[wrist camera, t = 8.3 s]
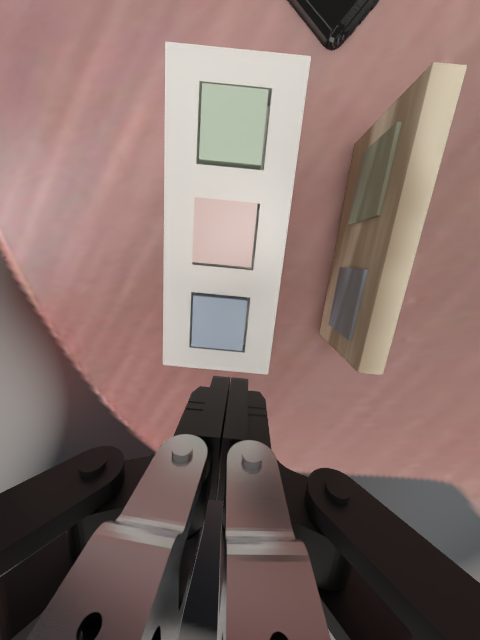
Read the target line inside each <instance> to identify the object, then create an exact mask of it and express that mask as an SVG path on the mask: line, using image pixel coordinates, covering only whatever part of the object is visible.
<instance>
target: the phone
mask: <svg viewBox="0 0 480 640" xmlns="http://www.w3.org/2000/svg"><path fill="white" fill-rule="evenodd" d="M288 1H289V3H290V4H291V5H292V7H293V8H294V9H295V10H296V12H297V13H298V14H299V15H300V17H301V18H302V19H303V20H304V22H305V23H306V24H307V26H308V27H309V28H310V29H311V31H312V32H313V33H314V34H315V36H316V37H317V38H318V39H319V41H320V42H321V43H322V45H323V46H324V47H325V48H327V49H329V50H335V49H337V48H339V47H340V46H341V45H342V44H343V42H344V41H345V40H346V39H347V38H348V36H349V35H351V34H352V32H353V31H354V30H355V28H356V27H357V25H358V24H359V23H361V22H362V21H363V19H364V18H365V17H366V16H367V14H368V13H369V11H370V10H372V9H373V8H374V6H375V5H376V4H377V3H378V1H379V0H288Z"/></svg>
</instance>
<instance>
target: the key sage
mask: <svg viewBox="0 0 480 640" xmlns="http://www.w3.org/2000/svg"><path fill="white" fill-rule="evenodd" d="M268 91H269V90H268V89H258V88H248V87H238V86H228V85H218V84H208V83H202V98H201V122H200V147H199V160H200V162H201V164H203V165H213V166H223V167H234V168H244V169H254V170H260V168H261V160H262V150H263V141H264V131H265V121H266V111H267V101H268Z"/></svg>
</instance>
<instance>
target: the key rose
mask: <svg viewBox="0 0 480 640" xmlns="http://www.w3.org/2000/svg"><path fill="white" fill-rule="evenodd" d="M257 204H258V203H250V202H240V201H229V200H219V199H209V198H198V197H195V202H194V228H193V254H192V262H198V263H208V264H219V265H229V266H240V267H250V268H251V263H252V253H253V243H254V233H255V224H256V214H257Z"/></svg>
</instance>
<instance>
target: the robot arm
mask: <svg viewBox="0 0 480 640" xmlns="http://www.w3.org/2000/svg"><path fill="white" fill-rule="evenodd" d="M229 388H230V391H229ZM219 474H220V481H219ZM218 481H219V495H218V500H222V501H224V502H223V514H222V515H223V516H222V527H221V549H220V577H219V606H218V631H217V632H218V633H217V640H331V639H330V635H329V631H330V632H331V633H332V635H333V636H334V638H335V639H336V640H480V583H479V582H478V581H476V580H475V579H474V578H472V577H471V576H470V575H469V574H468V573H466V572H465V571H464V570H463V569H462V568H460V567H459V566H458V565H457V564H455V563H454V562H453V561H452V560H451V559H449V558H448V557H447V556H446V555H444V554H443V553H442V552H441V551H440V550H438V549H437V548H436V547H434V546H433V545H432V544H431V543H430V542H428V541H427V540H426V539H425V538H424V537H422V536H421V535H420V534H418V533H417V532H416V531H415V530H414V529H412V528H411V527H410V526H409V525H408V524H406V523H405V522H404V521H403V520H401V519H400V518H399V517H398V516H397V515H395V514H394V513H393V512H392V511H390V510H389V509H388V508H387V507H385V506H384V505H383V504H382V503H381V502H379V501H378V500H377V499H376V498H374V497H373V496H372V495H371V494H369V493H368V492H367V491H366V490H365V489H363V488H362V487H361V486H360V485H358V484H357V483H356V482H355V481H354V480H352V479H351V478H350V477H348V476H347V475H345V474H344V473H342V472H340V471H337V470H334V469H330V468H320V469H316V470H315V471H313V472H312V473H311V474H310V476H309V477H306V476H304V475H301V474H299V473H296V472H294V471H291V470H289V469H288V468H286V467H285V466H283V465H282V464H281V463H280V462H279V461H278V460H277V459H276V456H275V454H274V453H273V451H272V450H271V443H270V435H269V426H268V418H267V410H266V401H265V398H264V397H263V396H262V394H261V393H260V392H256V391H248V379H243V378H231V384H230V377H220V376H213V379H212V382H211V385H210V387H201V386H200V387H198V388H197V389H196V390H195V391H194V392H192V394H191V396H190V399H189V401H188V403H187V406H186V408H185V410H184V413H183V415H182V417H181V420H180V422H179V424H178V427H177V429H176V431H175V434H174V436H173V437H171V438H169V439H168V440H166V441H165V442H164V443H163V444H162V445H161V446H160V447H159V449H158V450H157V452H156V453H155V454H153V455H150V456H148V457H143V458H137V459H131V460H126V461H124V455H123V453H122V452H121V451H120V450H119V449H117V448H115V447H111V446H101V447H96V448H92V449H89V450H87V451H85V452H82V453H81V454H79V455H76V456H75V457H72V458H71V459H68V460H66V461H64V462H62V463H60V464H58V465H56V466H54V467H52V468H50V469H48V470H46V471H44V472H42V473H41V474H38V475H36V476H34V477H32V478H30V479H28V480H26V481H24V482H22V483H20V484H18V485H16V486H14V487H12V488H10V489H8V490H6V491H4V492H2V493H0V575H2V574H3V573H5V572H6V571H8V570H9V569H11V568H12V567H14V566H15V565H16V564H18V563H19V562H21V561H22V560H24V559H25V558H27V557H28V556H30V555H31V554H32V553H34V552H35V551H37V550H38V549H40V548H41V547H43V546H44V545H46V544H47V543H49V542H50V541H51V540H53V539H54V538H56V537H57V536H59V535H60V534H62V533H63V532H65V531H66V532H65V533H64V534H62V535H61V536H60V537H58V538H56V539H55V540H54V541H52V542H51V543H49V544H48V545H46V546H45V547H44V548H42V549H41V550H39V551H38V552H36V553H35V554H33V555H32V556H30V557H29V558H27V559H26V560H25V561H23V562H22V563H20V564H19V565H17V566H16V567H14V568H13V569H11V570H10V571H9V572H7V573H6V574H4V575H3V576H1V577H0V640H178V637H179V630H180V625H181V620H182V615H183V611H184V607H185V603H186V599H187V595H188V590H189V586H190V582H191V578H192V574H193V569H194V565H195V561H196V557H197V552H198V548H199V544H200V539H201V536H202V531H203V526H204V520H205V517H206V513H207V507H208V501H209V499H210V500H216V496H217V489H218ZM328 629H329V631H328Z"/></svg>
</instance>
